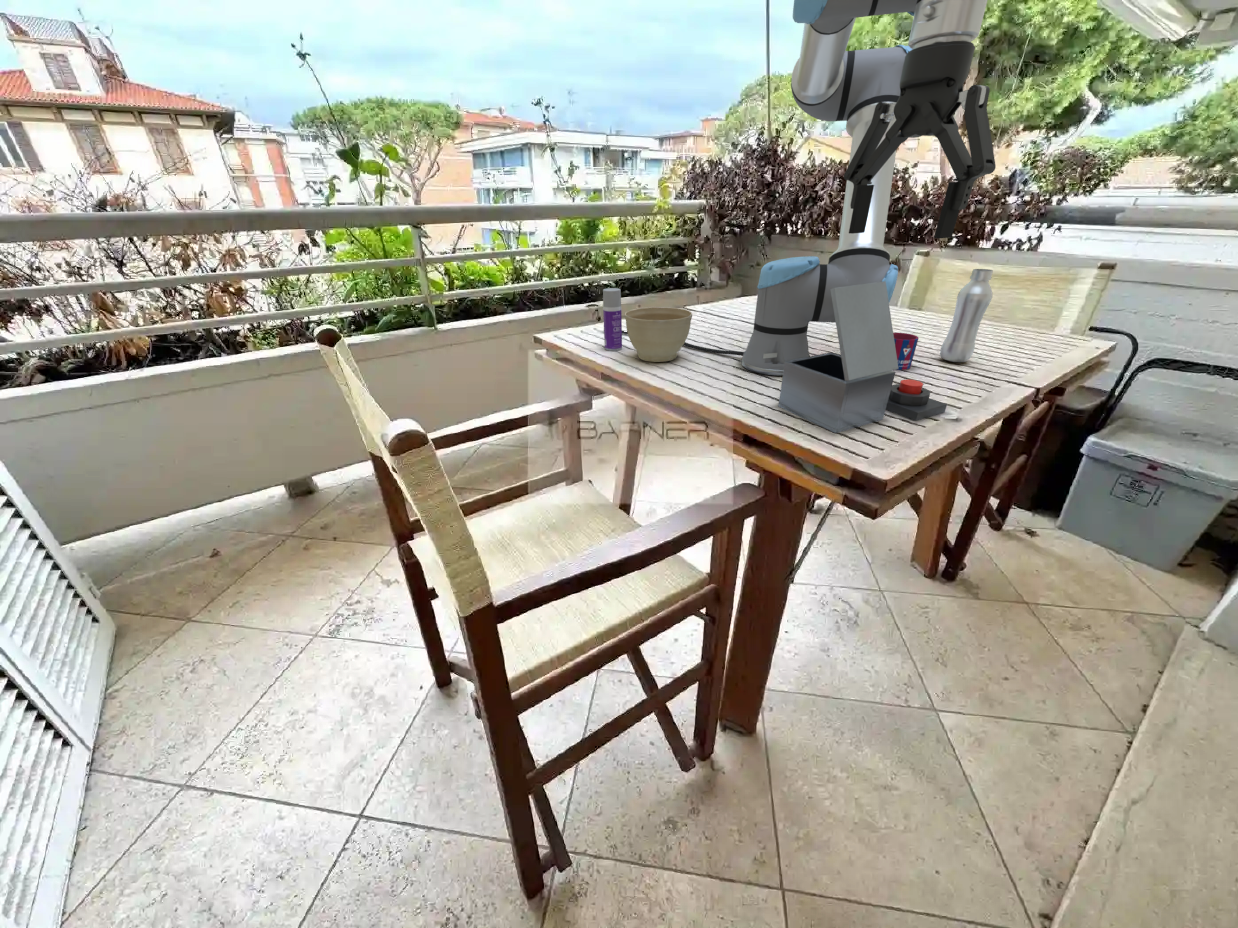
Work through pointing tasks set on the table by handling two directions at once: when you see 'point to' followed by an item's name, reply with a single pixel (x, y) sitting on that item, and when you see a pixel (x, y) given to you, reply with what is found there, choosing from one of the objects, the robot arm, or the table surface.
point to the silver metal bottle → (967, 317)
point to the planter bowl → (658, 331)
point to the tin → (833, 393)
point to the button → (910, 386)
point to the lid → (864, 329)
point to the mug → (905, 349)
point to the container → (612, 319)
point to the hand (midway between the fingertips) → (896, 235)
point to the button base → (913, 404)
